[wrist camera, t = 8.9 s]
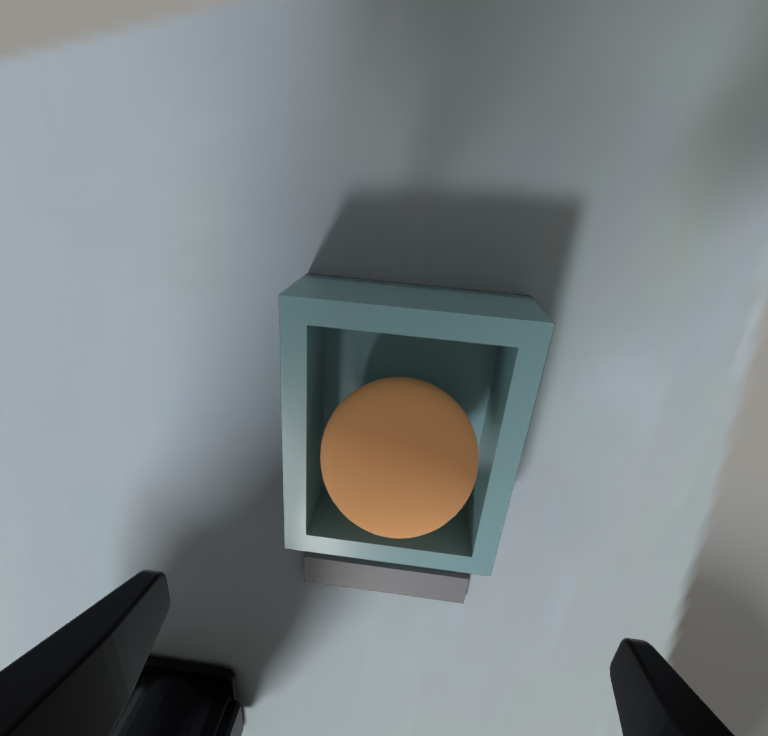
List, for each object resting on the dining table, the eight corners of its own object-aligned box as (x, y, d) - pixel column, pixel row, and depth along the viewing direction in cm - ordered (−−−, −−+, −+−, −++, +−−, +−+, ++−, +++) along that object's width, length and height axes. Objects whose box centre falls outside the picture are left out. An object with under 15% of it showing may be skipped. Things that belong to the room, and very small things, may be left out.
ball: (334, 462, 17) (301, 565, 12) (338, 346, 15) (301, 418, 10) (459, 477, 17) (472, 587, 12) (480, 361, 15) (506, 441, 10)
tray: (305, 494, 19) (284, 548, 16) (306, 273, 15) (278, 294, 12) (481, 516, 18) (490, 576, 15) (530, 295, 14) (554, 323, 11)
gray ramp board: (305, 575, 21) (303, 581, 20) (305, 551, 20) (303, 556, 20) (463, 597, 20) (463, 603, 20) (468, 573, 20) (469, 579, 19)
